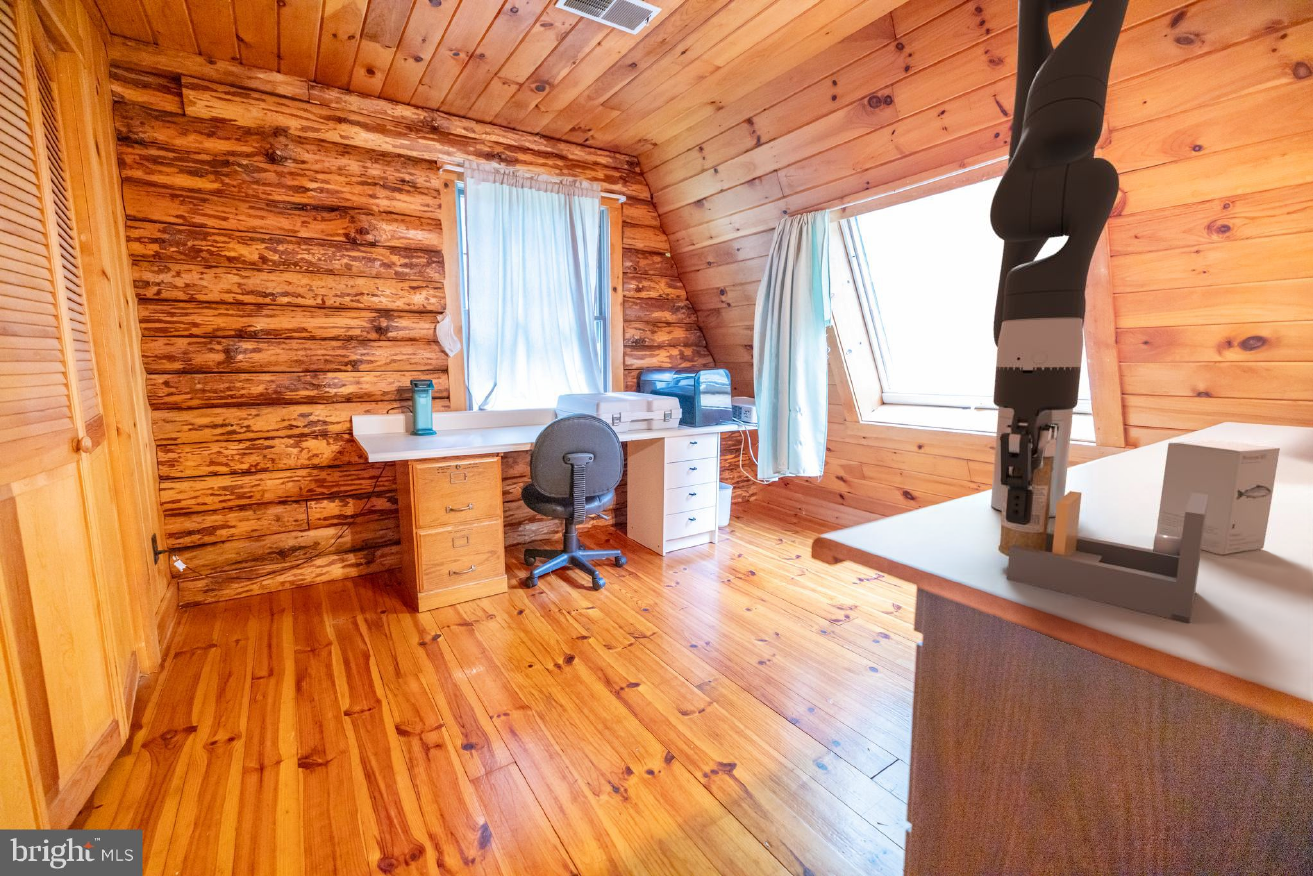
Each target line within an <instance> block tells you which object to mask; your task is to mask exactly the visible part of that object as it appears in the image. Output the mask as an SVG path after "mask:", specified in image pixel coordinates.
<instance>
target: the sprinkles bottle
mask: <svg viewBox="0 0 1313 876" xmlns="http://www.w3.org/2000/svg"><path fill="white" fill-rule="evenodd" d="M1038 444H1039V441H1038ZM1037 451H1038V450H1037ZM1055 454H1056V440H1055V439H1054V438H1051V440H1050V442H1049V443H1048V444H1046V449H1045V459H1044V466H1043V468H1042V469H1041V470H1039V471H1037V474H1036V480H1035V484H1036V486H1035V488H1034V490H1033V502H1032V514H1031V521H1030V523H1028V524H1027V525H1021V524H1015V523H1010V522H1008V521H1007V520H1006V507H1007V495H1008V488H1006V486H1005V485H1004V491H1003V504H1002V511H1001V519H1000V524H1001V525H1000V539H999V545H998V547H997V548H998V551H999V553H1001V554H1003V555H1005V556H1006V557H1009V548H1010V547H1011V546H1012V545H1017V546H1022V547H1027V548H1032V549H1037V550H1042V551H1045V546H1046V535H1047V530H1049V522H1050V521H1049V520H1050V517H1049V511H1050V491H1051V478H1052V477H1051V474H1052V461H1053V459H1054V457H1053V456H1055ZM1036 457H1037V454H1036V455H1035V456H1033V458H1031V461H1033V460H1035V459H1036ZM1015 475H1019V476H1023V470H1022V469H1021V468H1016V470H1015Z"/></svg>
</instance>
